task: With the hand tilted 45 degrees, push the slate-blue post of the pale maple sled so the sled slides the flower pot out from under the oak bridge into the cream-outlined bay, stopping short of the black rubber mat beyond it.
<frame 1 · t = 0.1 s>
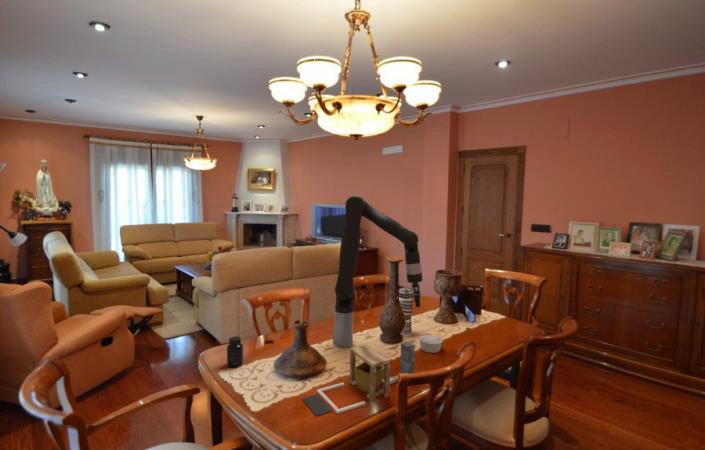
hand: (417, 304, 184), 22 cm above the table, tool pointing down, fingers open, 8 cm apart
flower pot: (368, 390, 146), on the table
ramekin: (430, 349, 185), on the table
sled: (386, 366, 150), point 8 cm above the table, slide at 0.0 cm
striped vase: (403, 333, 206), on the table
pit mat: (316, 405, 134), on the table
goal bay: (343, 397, 140), on the table
oak bridge: (368, 389, 146), on the table
supplement bottle: (235, 365, 164), on the table
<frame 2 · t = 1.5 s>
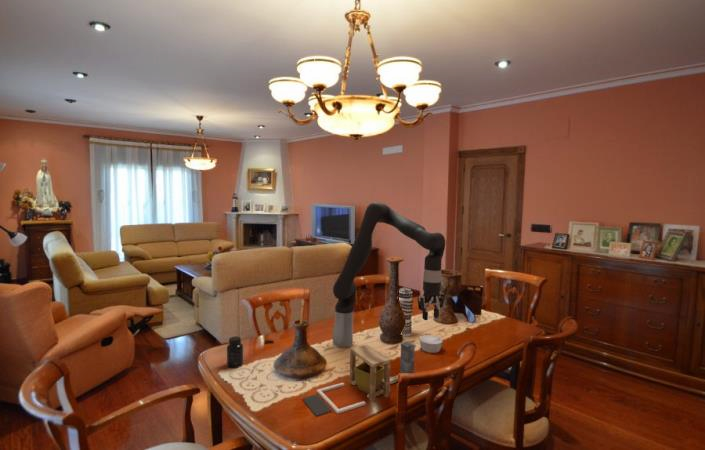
hand: (430, 318, 160), 24 cm above the table, tool pointing down, fingers open, 5 cm apart
nothing on the table moved.
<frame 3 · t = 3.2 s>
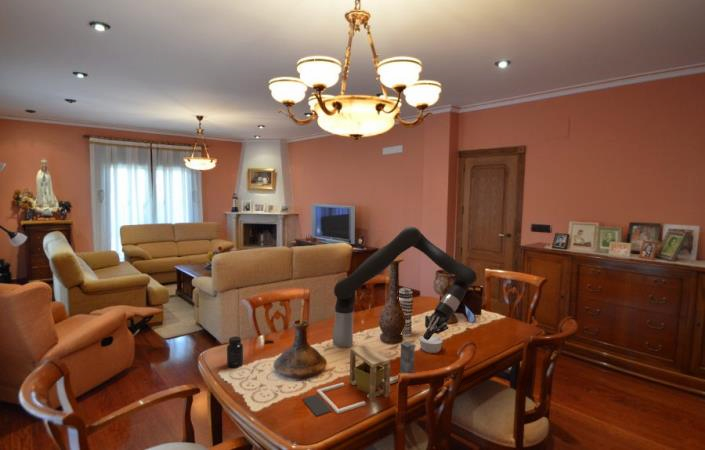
hand: (425, 338, 159), 15 cm above the table, tool tilted 45°, fingers closed
nothing on the table moved.
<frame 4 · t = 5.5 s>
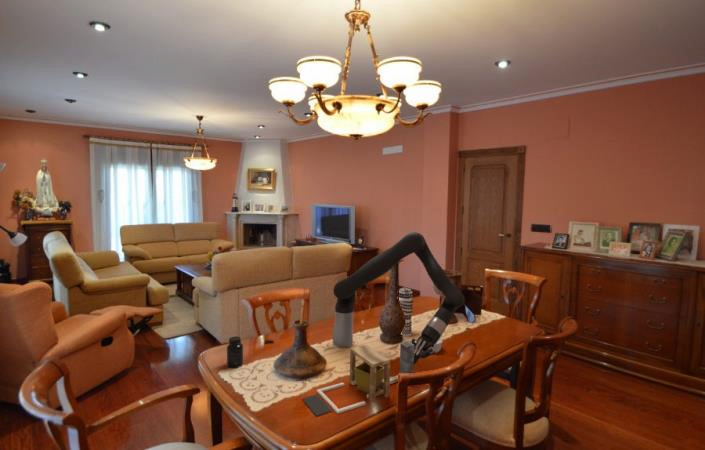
hand: (411, 363, 156), 6 cm above the table, tool tilted 45°, fingers closed
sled: (386, 366, 149), point 7 cm above the table, slide at 0.3 cm, touching gripper
everything else where it was.
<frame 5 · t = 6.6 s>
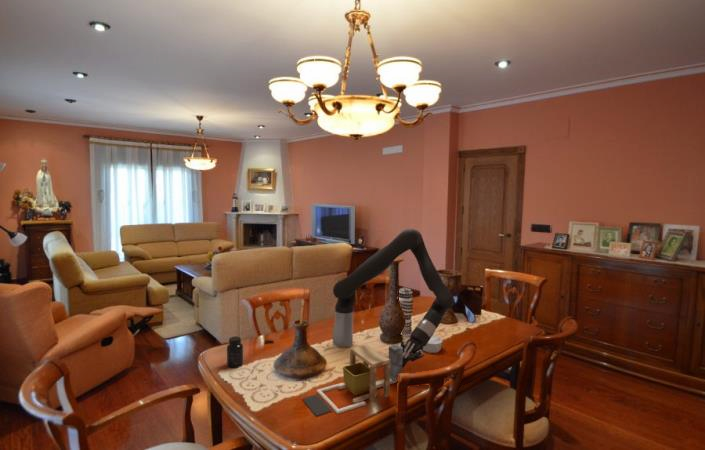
hand: (399, 366, 153), 6 cm above the table, tool tilted 45°, fingers closed
flower pot: (357, 391, 144), on the table, touching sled
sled: (373, 369, 146), point 8 cm above the table, slide at 6.3 cm, touching flower pot, gripper
everything else where it was.
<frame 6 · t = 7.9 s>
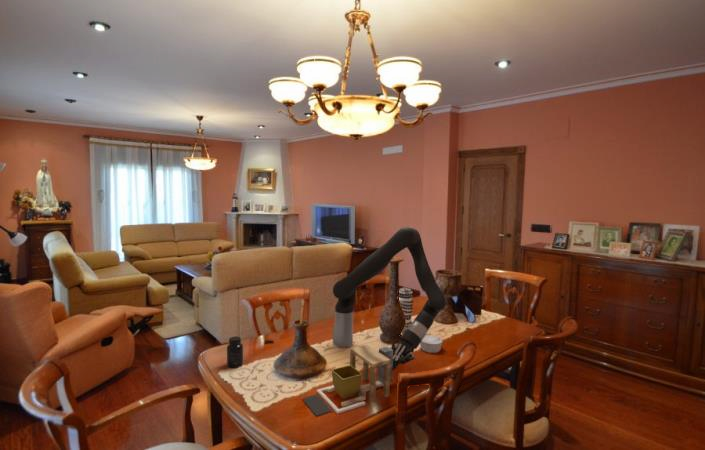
hand: (390, 369, 151), 6 cm above the table, tool tilted 45°, fingers closed
flower pot: (346, 394, 142), on the table, touching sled
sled: (363, 372, 144), point 8 cm above the table, slide at 11.2 cm, touching flower pot, gripper
everything else where it was.
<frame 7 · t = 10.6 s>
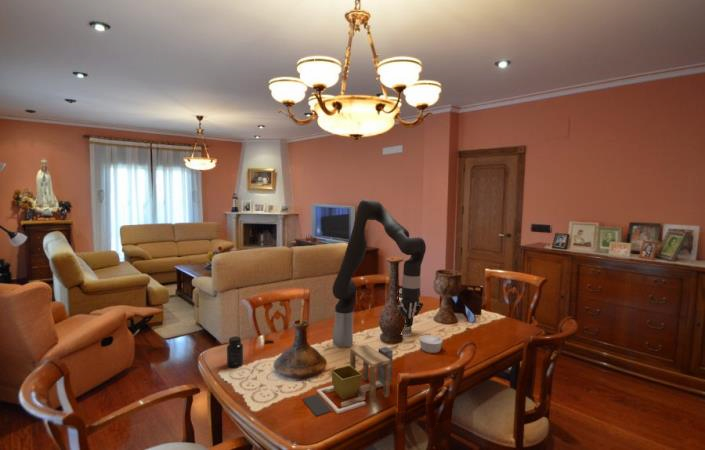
hand: (408, 325, 157), 21 cm above the table, tool pointing down, fingers closed
flower pot: (345, 395, 142), on the table
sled: (362, 372, 144), point 8 cm above the table, slide at 11.4 cm
everything else where it was.
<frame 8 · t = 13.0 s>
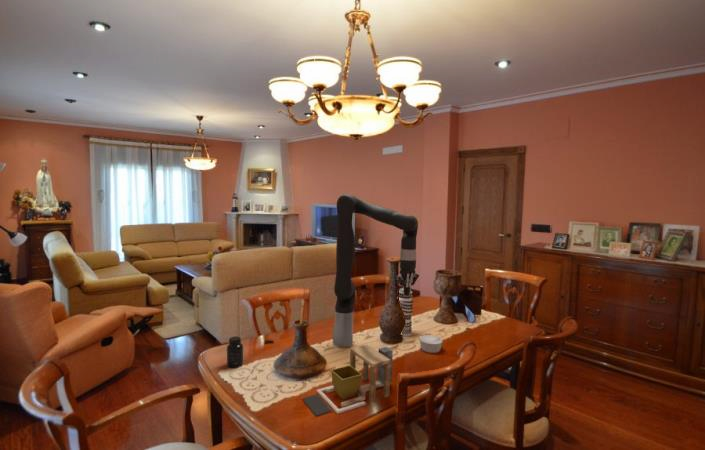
hand: (406, 294, 176), 29 cm above the table, tool pointing down, fingers closed
nothing on the table moved.
at the end: flower pot 2.1 cm from the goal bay (horizontally); flower pot tilted 0°; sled slide at 11.4 cm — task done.
